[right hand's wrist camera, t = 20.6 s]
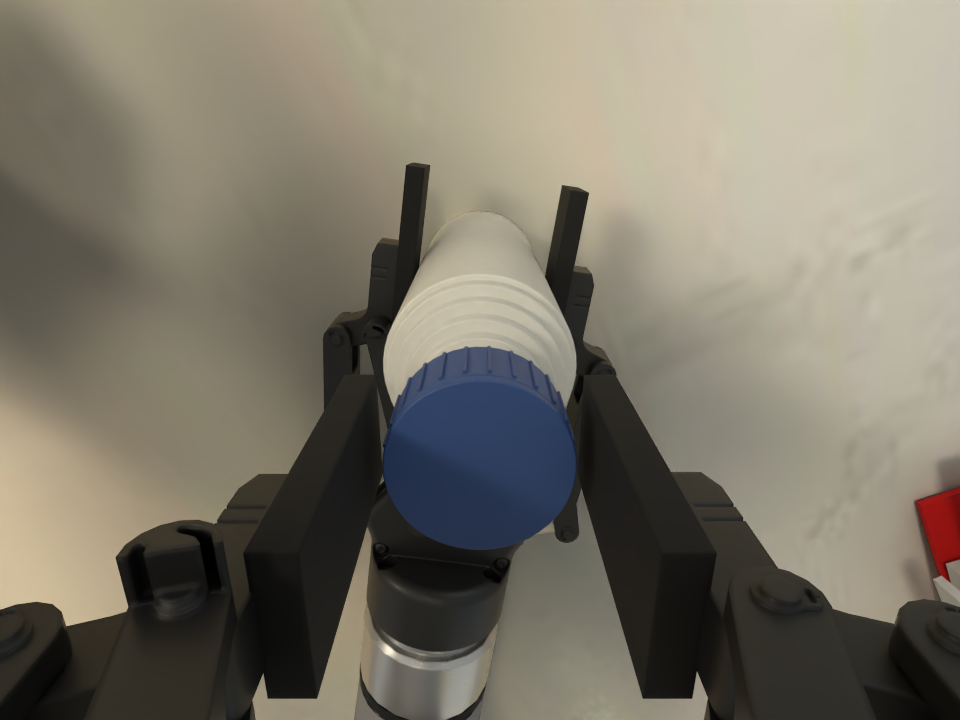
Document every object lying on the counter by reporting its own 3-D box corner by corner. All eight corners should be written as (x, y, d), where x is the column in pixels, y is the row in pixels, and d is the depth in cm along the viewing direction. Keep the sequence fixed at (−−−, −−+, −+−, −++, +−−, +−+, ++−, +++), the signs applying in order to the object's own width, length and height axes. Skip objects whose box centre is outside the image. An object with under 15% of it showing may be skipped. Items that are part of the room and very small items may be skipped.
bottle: (472, 337, 34) (462, 603, 15) (404, 257, 33) (290, 437, 13) (554, 273, 33) (664, 472, 13) (488, 187, 32) (501, 270, 12)
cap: (425, 318, 14) (415, 348, 12) (594, 377, 14) (613, 417, 12) (371, 469, 15) (355, 519, 13) (527, 518, 16) (534, 574, 14)
